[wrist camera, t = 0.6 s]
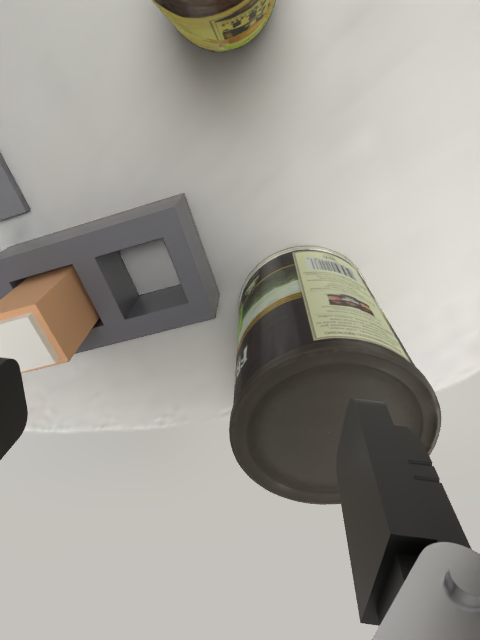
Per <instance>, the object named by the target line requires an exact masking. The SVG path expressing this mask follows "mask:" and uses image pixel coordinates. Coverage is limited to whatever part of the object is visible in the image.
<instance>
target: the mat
mask: <svg viewBox="0 0 480 640" xmlns="http://www.w3.org/2000/svg"><path fill="white" fill-rule="evenodd" d="M29 210H30V208H29V206H28V204H27V203H26V201H25V199H24V197H23V195H22V193H21V191H20V189H19V187H18V186H17V184H16V182H15V180H14V178H13V176H12V174H11V172H10V171H9V169H8V167H7V165H6V163H5V161H4V159H3V157H2V156H1V154H0V220H3V219H6V218H9V217H12V216H15V215H18V214H21V213H25V212H27V211H29Z"/></svg>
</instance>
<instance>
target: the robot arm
mask: <svg viewBox="0 0 480 640" xmlns="http://www.w3.org/2000/svg"><path fill="white" fill-rule="evenodd" d="M27 415H28V412H27V405H26V399H25V394H24V388H23V382H22V377H21V371H20V366H19V364H18V362H17V361H16V360H14V359H10V358H1V357H0V460H1V459H2V457H3V456H4V455H5V454H6V453H7V451H8V450H9V449H10V448H11V446H13V444H14V443H15V442H16V441H17V440H18V438H19V437H20V436H21V434H22V433H23V431H24V428H25V426H26V422H27ZM336 473H337V481H338V487H339V493H340V499H341V506H342V512H343V518H344V524H345V530H346V535H347V542H348V548H349V555H350V560H351V567H352V573H353V579H354V585H355V592H356V598H357V603H358V610H359V616H360V622H361V623H365V624H372V625H379V628H378V630H377V632H376V633H375V635H374V637H373V639H372V640H480V554H479V553H477V552H475V551H473V550H472V549H471V547H470V545H469V543H468V541H467V539H466V536H465V534H464V532H463V530H462V527H461V525H460V523H459V521H458V519H457V517H456V514H455V512H454V510H453V508H452V505H451V503H450V501H449V499H448V497H447V494H446V492H445V490H444V488H443V486H442V483H439V477H438V475H437V472H436V470H435V468H434V467H433V466H432V462H431V459H430V457H429V455H428V452H427V450H426V448H425V446H424V444H423V443H422V442H421V441H420V440H419V439H418V438H417V437H416V435H415V434H414V433H413V432H412V431H411V430H410V429H409V428H408V427H405V426H396V425H394V424H393V421H392V419H391V416H390V413H389V411H388V408H387V406H386V404H385V403H384V402H381V401H372V400H363V399H354V398H351V399H350V401H349V403H348V406H347V410H346V415H345V419H344V423H343V428H342V432H341V437H340V441H339V445H338V450H337V459H336Z"/></svg>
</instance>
